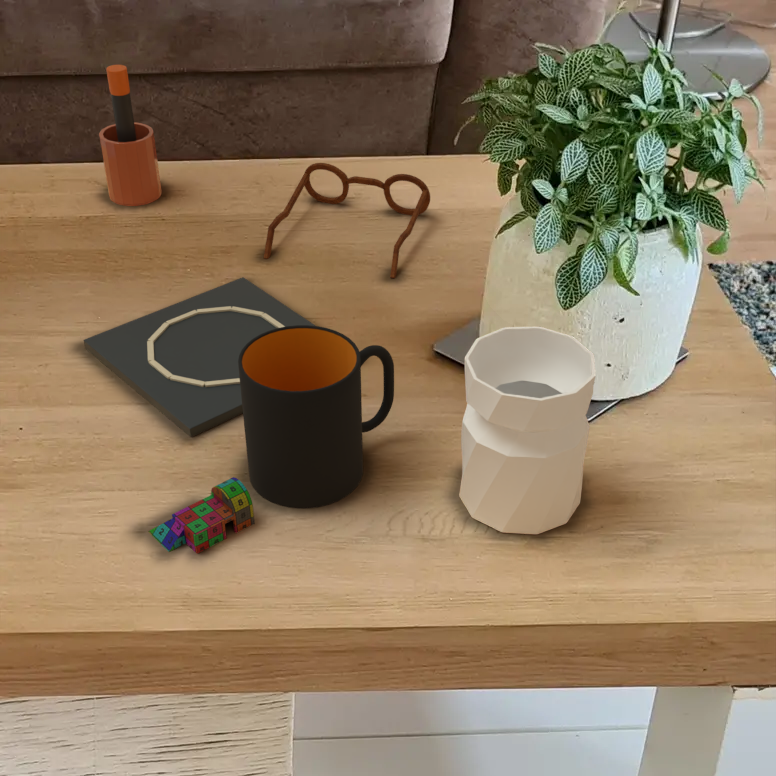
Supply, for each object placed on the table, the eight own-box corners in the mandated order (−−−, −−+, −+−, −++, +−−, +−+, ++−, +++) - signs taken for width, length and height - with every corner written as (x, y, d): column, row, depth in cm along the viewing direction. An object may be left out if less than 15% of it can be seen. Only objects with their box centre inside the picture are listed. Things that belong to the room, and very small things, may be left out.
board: (191, 441, 88) (189, 426, 87) (85, 351, 97) (82, 337, 96) (355, 363, 97) (355, 349, 96) (244, 288, 106) (242, 274, 105)
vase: (513, 446, 89) (524, 311, 81) (604, 499, 84) (624, 362, 77) (433, 498, 84) (436, 359, 76) (524, 558, 79) (538, 417, 72)
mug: (426, 463, 87) (428, 347, 80) (288, 528, 81) (279, 407, 75) (362, 410, 92) (360, 296, 86) (228, 466, 86) (215, 349, 80)
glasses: (431, 219, 117) (431, 173, 114) (394, 282, 108) (394, 234, 104) (307, 201, 120) (305, 156, 117) (260, 262, 110) (256, 213, 107)
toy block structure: (222, 498, 83) (217, 461, 81) (255, 527, 81) (251, 490, 79) (148, 535, 80) (141, 497, 78) (180, 567, 78) (174, 529, 76)
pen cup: (126, 214, 117) (116, 148, 112) (100, 196, 120) (89, 131, 115) (171, 199, 120) (163, 134, 115) (144, 181, 122) (135, 117, 118)
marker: (132, 199, 118) (112, 73, 110) (122, 192, 119) (102, 67, 111) (148, 193, 119) (130, 68, 111) (138, 187, 120) (120, 62, 112)
